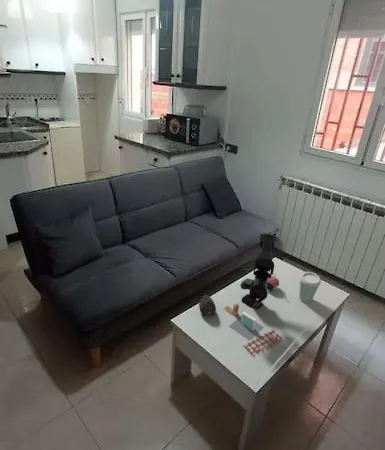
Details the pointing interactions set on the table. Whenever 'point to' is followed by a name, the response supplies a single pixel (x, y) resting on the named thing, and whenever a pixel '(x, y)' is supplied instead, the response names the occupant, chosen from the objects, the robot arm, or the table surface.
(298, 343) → the table surface
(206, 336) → the table surface
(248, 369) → the table surface
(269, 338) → the red lattice rack
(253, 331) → the mat
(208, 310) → the stone
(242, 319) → the tile
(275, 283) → the cupcake
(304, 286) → the disposable coffee cup
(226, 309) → the turner
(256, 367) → the table surface
